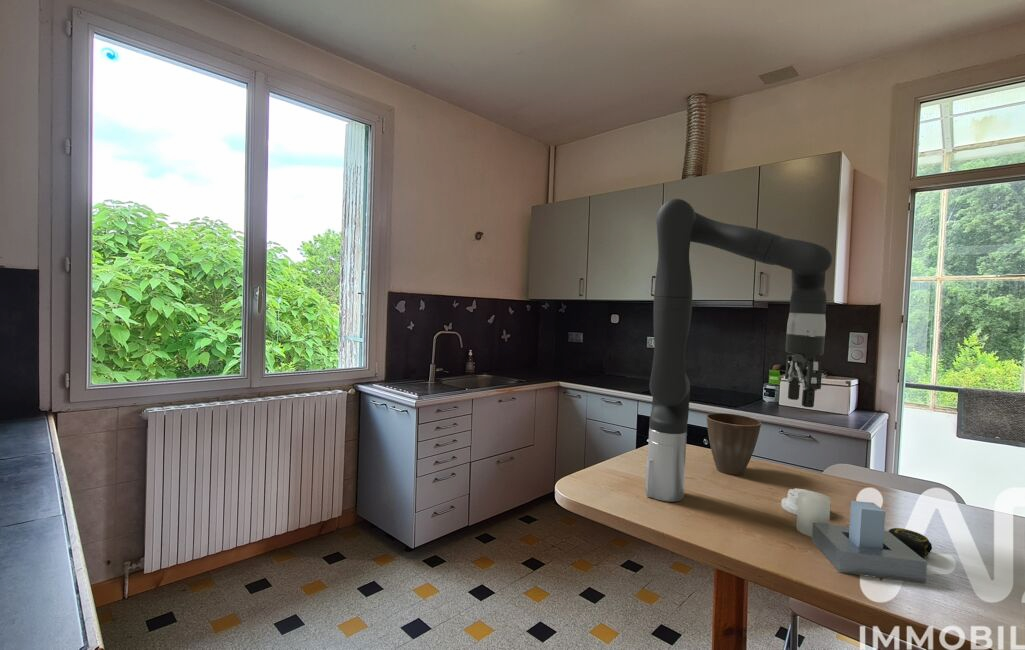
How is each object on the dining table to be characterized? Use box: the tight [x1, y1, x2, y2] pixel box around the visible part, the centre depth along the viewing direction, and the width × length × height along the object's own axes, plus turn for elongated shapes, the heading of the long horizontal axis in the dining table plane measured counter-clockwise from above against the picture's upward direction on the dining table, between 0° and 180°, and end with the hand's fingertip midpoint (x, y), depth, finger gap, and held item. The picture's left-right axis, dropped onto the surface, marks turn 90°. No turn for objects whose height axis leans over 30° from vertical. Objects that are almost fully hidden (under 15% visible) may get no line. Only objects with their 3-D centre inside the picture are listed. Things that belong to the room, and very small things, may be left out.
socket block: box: [811, 523, 928, 584], centre depth 92 cm, size 14×12×4 cm
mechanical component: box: [780, 487, 809, 516], centre depth 115 cm, size 10×4×10 cm
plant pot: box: [706, 412, 762, 476], centre depth 141 cm, size 15×15×16 cm
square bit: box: [848, 500, 886, 549], centre depth 92 cm, size 4×4×11 cm
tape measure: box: [888, 527, 933, 560], centre depth 96 cm, size 7×7×4 cm
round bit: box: [795, 490, 832, 538], centre depth 104 cm, size 6×6×8 cm
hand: (800, 403), depth 108 cm, fingers open, 8 cm apart
